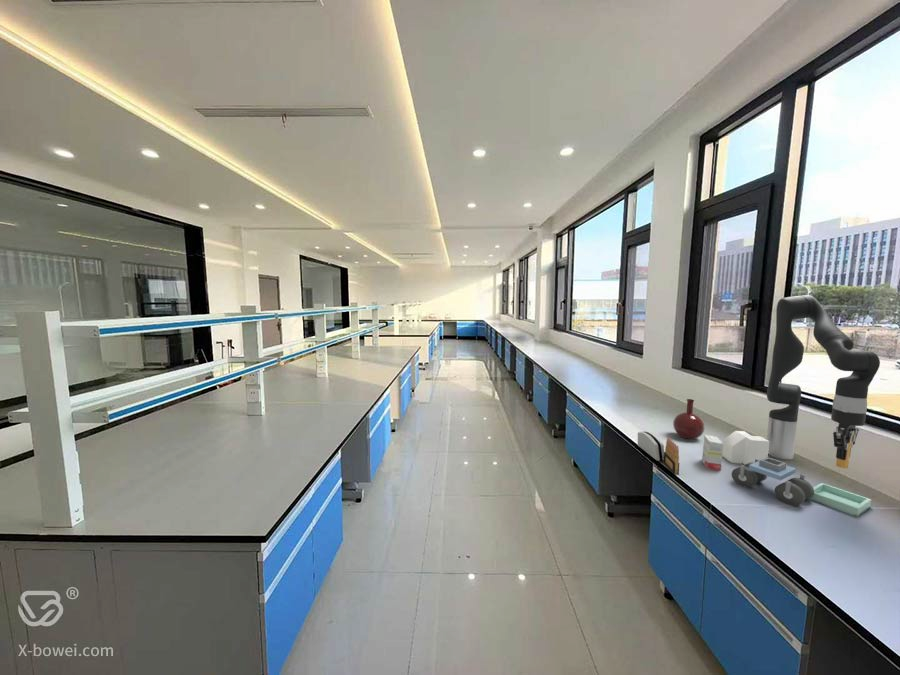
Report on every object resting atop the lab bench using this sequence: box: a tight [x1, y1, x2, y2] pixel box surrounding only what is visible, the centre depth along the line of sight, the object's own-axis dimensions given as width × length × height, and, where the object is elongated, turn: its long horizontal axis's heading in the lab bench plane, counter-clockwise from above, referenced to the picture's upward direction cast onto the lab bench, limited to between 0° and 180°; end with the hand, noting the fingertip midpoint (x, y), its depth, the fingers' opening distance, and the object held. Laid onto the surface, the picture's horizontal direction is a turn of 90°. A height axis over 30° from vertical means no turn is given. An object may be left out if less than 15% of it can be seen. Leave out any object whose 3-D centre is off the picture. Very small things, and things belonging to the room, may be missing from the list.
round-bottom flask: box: [672, 398, 705, 440], centre depth 176 cm, size 13×13×20 cm
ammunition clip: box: [662, 437, 680, 475], centre depth 144 cm, size 11×2×12 cm, turn 168°
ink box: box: [701, 434, 723, 471], centre depth 147 cm, size 9×5×12 cm, turn 156°
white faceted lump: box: [722, 430, 769, 465], centre depth 150 cm, size 11×11×12 cm
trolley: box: [731, 456, 814, 507], centre depth 126 cm, size 12×20×12 cm, turn 27°
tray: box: [808, 482, 872, 518], centre depth 120 cm, size 12×12×3 cm
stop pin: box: [835, 439, 852, 469], centre depth 118 cm, size 3×3×11 cm
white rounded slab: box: [637, 431, 665, 462], centre depth 157 cm, size 17×5×10 cm, turn 178°
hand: (842, 457), depth 118 cm, fingers closed on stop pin, 2 cm apart
